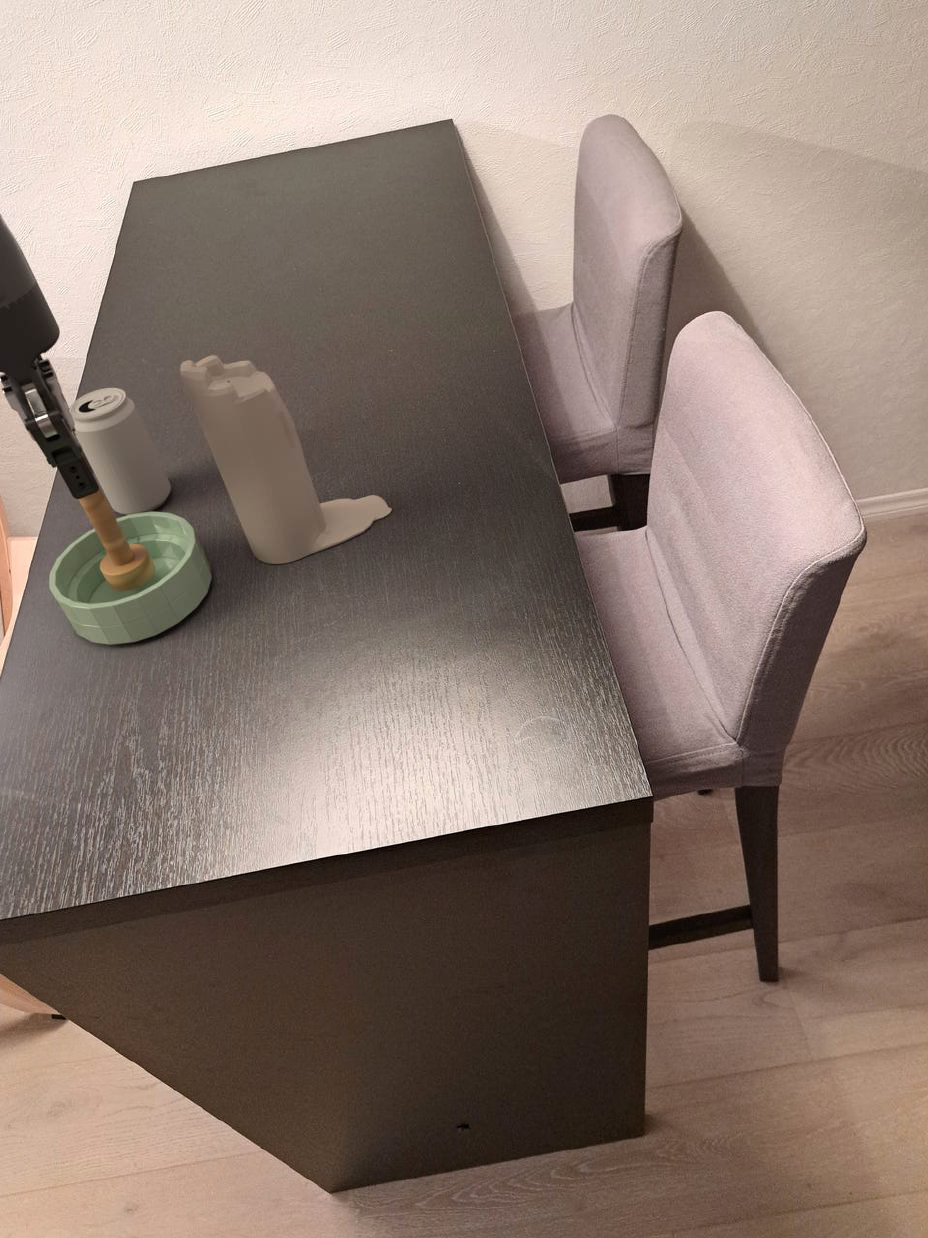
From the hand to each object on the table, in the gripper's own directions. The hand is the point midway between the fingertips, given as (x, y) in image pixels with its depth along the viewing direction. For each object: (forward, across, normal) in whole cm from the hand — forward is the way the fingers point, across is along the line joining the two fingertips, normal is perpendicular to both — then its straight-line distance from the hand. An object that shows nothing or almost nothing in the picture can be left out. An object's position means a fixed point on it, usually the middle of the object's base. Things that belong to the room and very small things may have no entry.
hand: (84, 486), depth 80 cm
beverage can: (+12, -16, +4) cm, 20 cm away
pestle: (+10, 0, 0) cm, 10 cm away
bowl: (+12, +1, 0) cm, 12 cm away
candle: (+12, +2, +18) cm, 22 cm away
